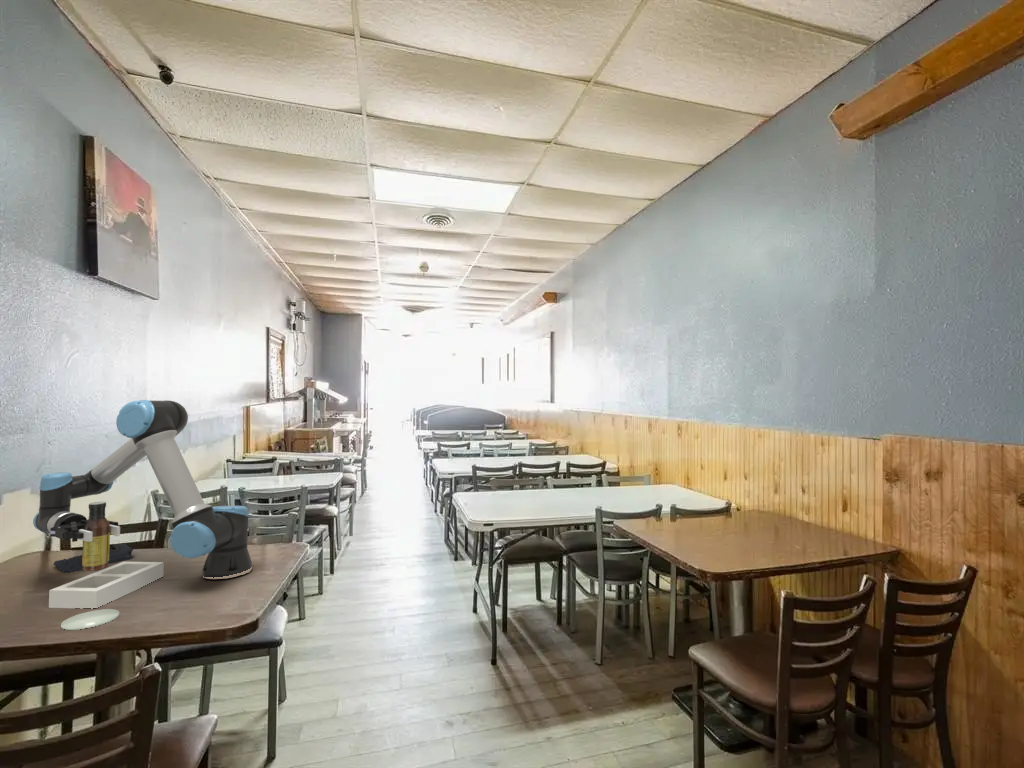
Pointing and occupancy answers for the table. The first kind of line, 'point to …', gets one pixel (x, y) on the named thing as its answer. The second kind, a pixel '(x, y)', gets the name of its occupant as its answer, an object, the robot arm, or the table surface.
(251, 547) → the table surface
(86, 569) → the sauce bottle
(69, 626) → the coaster
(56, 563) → the dark slate chunk
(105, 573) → the condiment caddy
